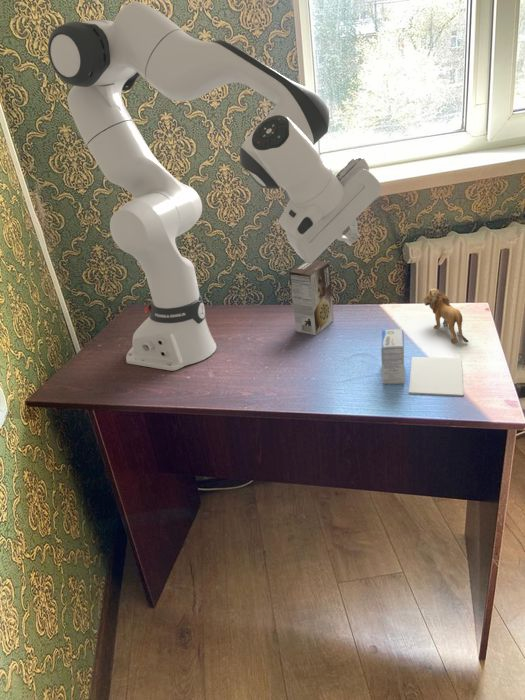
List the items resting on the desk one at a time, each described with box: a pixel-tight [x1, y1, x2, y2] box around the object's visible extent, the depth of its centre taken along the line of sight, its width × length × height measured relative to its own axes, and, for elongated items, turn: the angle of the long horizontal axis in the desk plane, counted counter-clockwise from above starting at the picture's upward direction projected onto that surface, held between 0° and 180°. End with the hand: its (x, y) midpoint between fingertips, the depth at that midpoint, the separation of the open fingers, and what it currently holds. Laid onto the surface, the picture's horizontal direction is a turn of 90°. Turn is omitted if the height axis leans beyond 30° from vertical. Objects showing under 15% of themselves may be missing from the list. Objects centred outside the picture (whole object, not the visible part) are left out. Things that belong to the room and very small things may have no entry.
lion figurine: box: [422, 287, 469, 344], centre depth 123 cm, size 15×5×9 cm, turn 20°
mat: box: [408, 356, 464, 397], centre depth 109 cm, size 10×14×1 cm
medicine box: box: [380, 328, 405, 385], centre depth 110 cm, size 8×4×9 cm, turn 168°
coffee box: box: [288, 259, 335, 336], centre depth 133 cm, size 9×6×16 cm
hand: (353, 239), depth 107 cm, fingers closed
